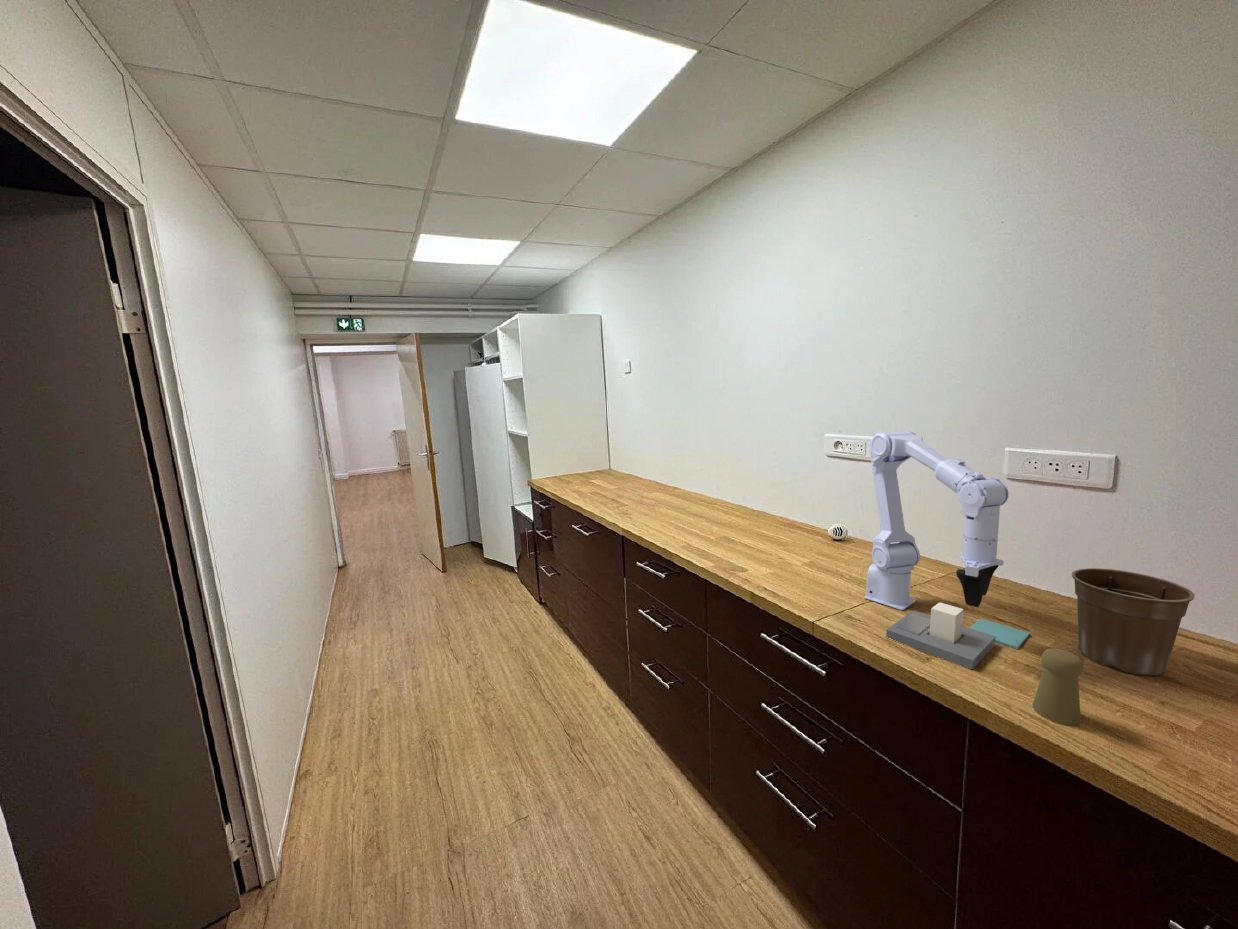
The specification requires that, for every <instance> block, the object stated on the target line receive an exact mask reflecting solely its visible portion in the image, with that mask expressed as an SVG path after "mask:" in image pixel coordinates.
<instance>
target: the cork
mask: <svg viewBox="0 0 1238 929" xmlns="http://www.w3.org/2000/svg"><path fill="white" fill-rule="evenodd" d="M1040 660H1041V664H1042V666H1043V670H1042V675H1041V678H1040V680H1039V684H1038V687H1037V690H1036V693H1035V696H1034V700H1033V703H1032V708H1034V709H1033V710H1034V712H1036V713H1037V714H1038V715H1039V714H1040V715H1039V716H1041V717H1043V718H1044V719H1046V718H1047V719H1046V720H1048V719H1049V720H1048V721H1050V720H1051V721H1050V722H1052V723H1057V724H1059V725H1064V726H1068V727H1069V726H1071V727H1072V726H1073V727H1074V726H1079V725H1080V724H1081V723H1082V718H1081V704H1080V689H1079V688H1080V686H1079V685H1080V684H1079V677H1081V676H1082V675H1083V673H1084V671H1085V666H1084V661H1083V660H1082V659H1081V657H1079V656H1078V655H1076V654H1075V653H1074V652H1070V651H1068V650H1066V649H1065V650H1064V649H1062V648H1047V649H1045V650H1044V651H1043V652H1042V654H1041V658H1040Z"/></svg>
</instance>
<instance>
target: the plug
mask: <svg viewBox="0 0 1238 929" xmlns="http://www.w3.org/2000/svg"><path fill="white" fill-rule="evenodd" d="M930 616H931V619H930V633H929V635H930V636H933V637H936V638H939V639H942V640H945V641H948V642H951V643H954V644H956V643H957V642H958V641H959V640H961V634H962V626H963V621H964V619H963V618H964V608H961V607H957V606H953V605H951V604H946V603H943V602H940V601H939V602H938V603H937V604H935V605H934V606H933V607H931V609H930Z"/></svg>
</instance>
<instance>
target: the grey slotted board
mask: <svg viewBox="0 0 1238 929" xmlns="http://www.w3.org/2000/svg"><path fill="white" fill-rule="evenodd" d="M930 619H931V615H929V614H926V613H922V612H919V611H917V610H912V611H910V612H909V613H908V614H906V615H904V617H902V618H901V619H899V620H898V621H897V622H895V623H894V624H892V625H891V626H889V627H888V628H887V629H886V632H885V633H886V634H885V635H886V636H885V638H886V637H888V638H891V639H893V640H896V641H898V642H897V643H899V642H900V643H899V644H901V643H903V644H902V645H904V644H907V645H909V646H911V647H910V648H912V647H913V648H912V649H915V650H917V649H918V651H920V650H922V651H921V652H923V651H925V652H926V653H925V652H924V653H925V654H928V653H930V654H929V655H931V654H932V655H931V656H933V655H934V657H936V656H938V657H937V658H939V657H940V658H939V659H942V658H943V659H942V660H944V659H945V661H947V660H948V662H950V663H952V662H954V663H953V664H955V663H956V664H955V665H958V664H959V665H958V666H960V665H961V667H963V668H966V669H969V670H971V669H973V670H974V669H975V667H976V666H978V664H980V662H981V661H982V660H983V659H984V657H986V655H987V654H989V652H990V651H991V650H992V649H993V647H994V646H996V642H995V638H996V636H993V635H990V634H987V633H983V632H980V631H977V630H974V629H971V628H970V627H967V626H964V625H962V634H961V640H959V641H958V642H957V643H956V644H954V643H951V642H948V641H945V640H942V639H939V638H936V637H933V636H930V635H929V633H930ZM888 638H887V639H888ZM893 640H892V641H893ZM896 641H895V642H896ZM907 645H906V646H907ZM909 646H908V647H909Z"/></svg>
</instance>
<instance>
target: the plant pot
mask: <svg viewBox="0 0 1238 929" xmlns="http://www.w3.org/2000/svg"><path fill="white" fill-rule="evenodd" d="M1071 577H1072V579H1073V580H1074V594H1075V595H1076V598H1077V599H1076V600H1077V604H1076V605H1077V637H1078V638H1077V640H1078V642H1077V647H1078V649H1077V650H1078V651H1079V652H1080V653H1081V654H1082V655H1084V656H1085V657H1086V658H1088V659H1090V660H1091V661H1093V662H1095V663H1098V664H1099V665H1101V666H1104V667H1107V666H1110V667H1111V666H1112V667H1114V668H1116V669H1117V670H1119V672H1124V673H1129V674H1132V675H1139V676H1160V675H1164V674H1165V673H1166V671H1167V670H1168V669H1169V668H1168V667H1169V663H1170V659H1171V657H1172V653H1173V649H1174V646H1175V642H1176V639H1177V635H1178V633H1179V628H1180V625H1181V621H1182V618H1184V617H1185V616H1186V614H1187V610H1188V607H1189V605H1190V602H1192V601H1193V600H1194V599H1195V593H1194V592H1193V591H1192V590H1191V589H1189V588H1188V587H1185V586H1183V585H1180V584H1178V583H1176V582H1174V581H1170V580H1168V579H1164V578H1160V577H1156V576H1151V575H1147V574H1142V573H1139V572H1132V571H1127V570H1126V571H1125V570H1120V569H1112V568H1097V567H1095V568H1093V567H1091V568H1090V567H1089V568H1080V569H1075V570H1073V571H1072V572H1071Z"/></svg>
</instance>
